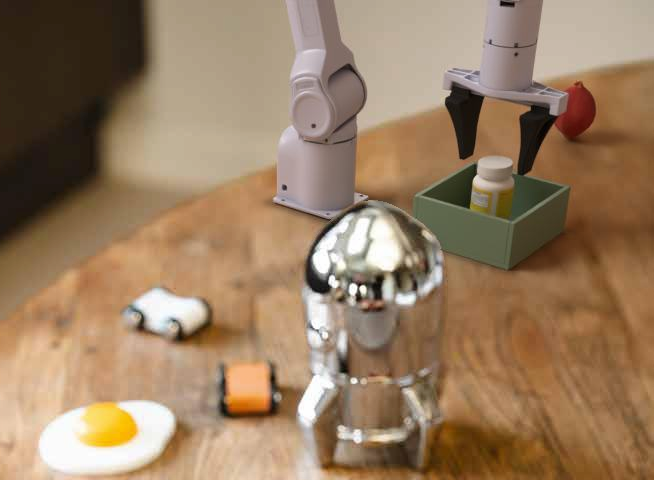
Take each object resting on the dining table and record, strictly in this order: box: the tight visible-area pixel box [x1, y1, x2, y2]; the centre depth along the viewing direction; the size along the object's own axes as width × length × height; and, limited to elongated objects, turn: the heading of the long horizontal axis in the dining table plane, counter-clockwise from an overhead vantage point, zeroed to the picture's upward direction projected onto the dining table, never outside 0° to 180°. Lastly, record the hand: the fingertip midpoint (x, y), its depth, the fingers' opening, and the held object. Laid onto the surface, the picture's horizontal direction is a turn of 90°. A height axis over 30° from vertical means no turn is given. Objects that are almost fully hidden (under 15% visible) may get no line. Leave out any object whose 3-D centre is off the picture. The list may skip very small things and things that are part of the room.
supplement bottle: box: [470, 154, 514, 221], centre depth 141 cm, size 5×5×8 cm
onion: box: [553, 79, 597, 140], centre depth 164 cm, size 6×6×8 cm
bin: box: [411, 160, 572, 271], centre depth 142 cm, size 13×13×6 cm
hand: (494, 164), depth 138 cm, fingers open, 7 cm apart
